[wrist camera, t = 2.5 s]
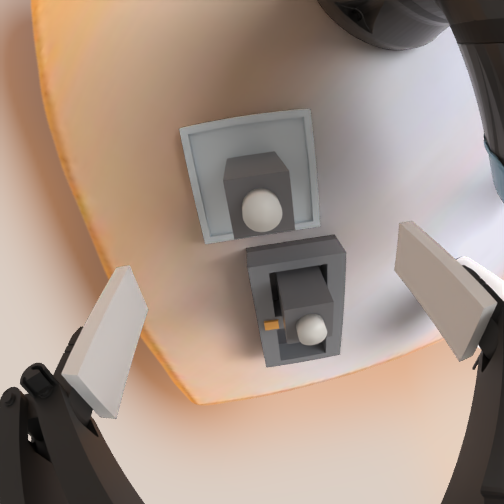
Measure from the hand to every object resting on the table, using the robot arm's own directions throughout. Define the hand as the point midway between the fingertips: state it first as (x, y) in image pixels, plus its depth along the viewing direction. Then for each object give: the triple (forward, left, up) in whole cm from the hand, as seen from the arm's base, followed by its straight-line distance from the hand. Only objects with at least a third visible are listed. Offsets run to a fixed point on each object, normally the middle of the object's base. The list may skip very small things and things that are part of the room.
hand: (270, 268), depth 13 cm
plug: (0, 0, -16) cm, 16 cm away
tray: (0, 0, -17) cm, 17 cm away
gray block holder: (+16, +3, -17) cm, 23 cm away
